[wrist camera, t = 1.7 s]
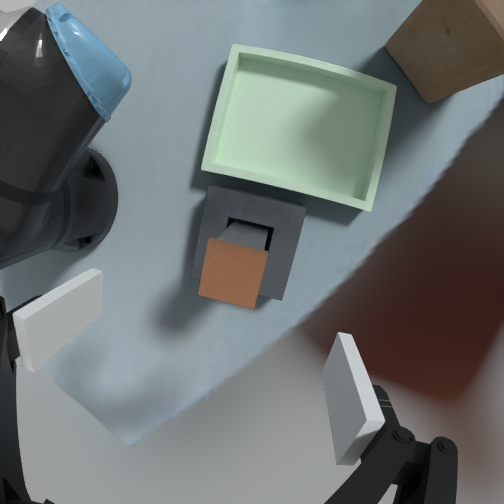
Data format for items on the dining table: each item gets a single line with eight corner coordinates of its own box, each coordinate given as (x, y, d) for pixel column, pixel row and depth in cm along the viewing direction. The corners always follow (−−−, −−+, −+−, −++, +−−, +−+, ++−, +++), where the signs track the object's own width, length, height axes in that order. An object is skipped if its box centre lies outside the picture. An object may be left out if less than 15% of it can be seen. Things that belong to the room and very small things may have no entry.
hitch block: (199, 268, 39) (190, 278, 36) (215, 184, 37) (208, 185, 33) (281, 288, 39) (281, 300, 35) (303, 205, 36) (306, 208, 33)
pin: (227, 250, 39) (197, 294, 24) (235, 215, 37) (208, 239, 23) (263, 259, 38) (254, 309, 24) (271, 224, 37) (267, 254, 23)
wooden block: (380, 46, 30) (445, -32, 11) (425, 25, 28) (495, -39, 9) (424, 107, 32) (521, 69, 12) (466, 81, 30) (556, 45, 10)
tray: (206, 170, 36) (200, 169, 33) (236, 53, 32) (232, 44, 29) (363, 209, 36) (370, 211, 33) (388, 91, 32) (396, 86, 29)
